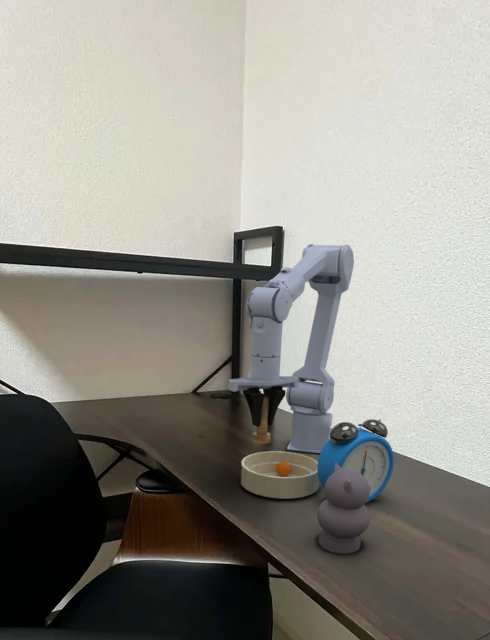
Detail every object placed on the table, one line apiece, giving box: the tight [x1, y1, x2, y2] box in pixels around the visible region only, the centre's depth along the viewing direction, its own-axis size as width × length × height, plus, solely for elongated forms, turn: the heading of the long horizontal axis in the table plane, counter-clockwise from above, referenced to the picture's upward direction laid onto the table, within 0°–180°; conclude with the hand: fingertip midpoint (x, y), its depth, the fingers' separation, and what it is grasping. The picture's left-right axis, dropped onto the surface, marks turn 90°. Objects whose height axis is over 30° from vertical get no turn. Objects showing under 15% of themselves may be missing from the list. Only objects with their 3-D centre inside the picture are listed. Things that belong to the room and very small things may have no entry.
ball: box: [276, 462, 291, 476], centre depth 104 cm, size 3×3×3 cm
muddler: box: [252, 396, 272, 445], centre depth 103 cm, size 4×4×9 cm
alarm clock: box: [317, 418, 395, 504], centre depth 93 cm, size 13×6×15 cm, turn 118°
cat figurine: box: [316, 462, 371, 554], centre depth 78 cm, size 8×8×12 cm
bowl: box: [240, 450, 320, 500], centre depth 100 cm, size 15×15×4 cm
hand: (262, 424), depth 104 cm, fingers closed on muddler, 2 cm apart
